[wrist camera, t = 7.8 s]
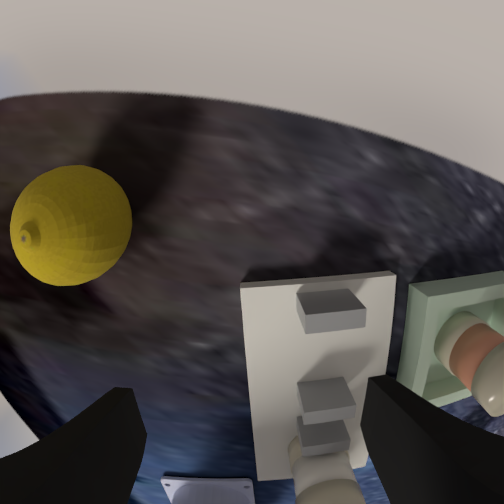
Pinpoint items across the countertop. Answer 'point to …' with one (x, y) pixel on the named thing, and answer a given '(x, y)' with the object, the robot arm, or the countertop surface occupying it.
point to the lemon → (70, 225)
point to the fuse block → (313, 362)
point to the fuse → (323, 477)
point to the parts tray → (430, 322)
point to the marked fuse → (474, 358)
